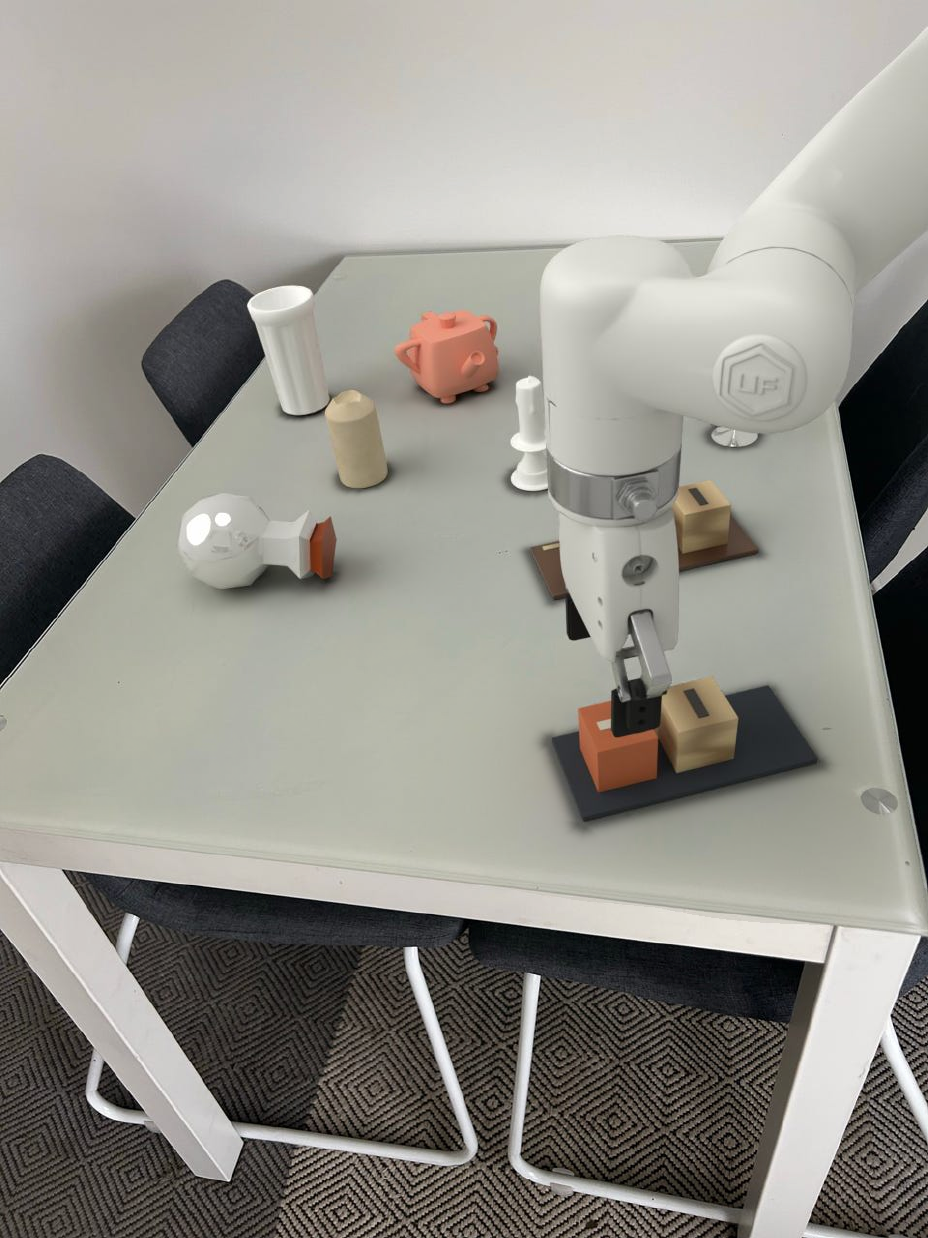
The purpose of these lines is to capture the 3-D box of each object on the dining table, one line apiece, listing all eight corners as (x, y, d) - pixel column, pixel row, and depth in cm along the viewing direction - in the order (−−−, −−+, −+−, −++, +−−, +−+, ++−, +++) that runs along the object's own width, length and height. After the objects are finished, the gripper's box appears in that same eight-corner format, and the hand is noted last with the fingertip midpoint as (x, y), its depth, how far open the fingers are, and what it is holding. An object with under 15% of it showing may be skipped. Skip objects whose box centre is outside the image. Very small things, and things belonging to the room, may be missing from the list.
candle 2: (522, 462, 105) (514, 362, 97) (567, 468, 103) (562, 367, 95) (503, 487, 101) (493, 386, 93) (549, 495, 99) (542, 392, 91)
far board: (722, 508, 94) (722, 503, 94) (757, 553, 88) (758, 548, 87) (530, 551, 92) (530, 546, 92) (553, 600, 86) (553, 595, 86)
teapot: (486, 413, 114) (478, 338, 108) (398, 405, 118) (385, 333, 112) (516, 369, 122) (510, 297, 116) (432, 363, 126) (422, 293, 120)
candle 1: (386, 486, 104) (370, 405, 98) (337, 491, 104) (318, 411, 98) (390, 460, 108) (374, 381, 102) (343, 464, 109) (325, 386, 102)
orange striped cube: (635, 734, 72) (636, 693, 69) (657, 778, 69) (658, 736, 66) (579, 748, 72) (577, 707, 69) (598, 793, 68) (597, 751, 65)
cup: (347, 407, 119) (323, 298, 110) (288, 428, 117) (259, 318, 108) (323, 384, 125) (298, 279, 116) (266, 404, 123) (237, 298, 113)
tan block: (709, 716, 73) (712, 674, 70) (734, 759, 69) (738, 717, 66) (654, 730, 72) (655, 688, 69) (676, 773, 69) (678, 731, 66)
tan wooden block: (708, 518, 92) (711, 478, 89) (727, 543, 89) (731, 503, 86) (664, 527, 92) (666, 488, 89) (682, 554, 88) (684, 513, 85)
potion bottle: (195, 581, 97) (337, 592, 96) (156, 587, 87) (313, 600, 86) (199, 491, 96) (342, 502, 95) (160, 487, 86) (319, 499, 85)
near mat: (767, 689, 75) (768, 684, 74) (817, 762, 69) (818, 758, 68) (551, 741, 73) (551, 737, 73) (583, 821, 67) (582, 817, 67)
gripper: (740, 540, 47) (713, 760, 59) (624, 389, 60) (620, 592, 71) (598, 571, 47) (598, 787, 58) (511, 411, 60) (525, 613, 71)
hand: (610, 679), depth 65 cm, fingers open, 9 cm apart
